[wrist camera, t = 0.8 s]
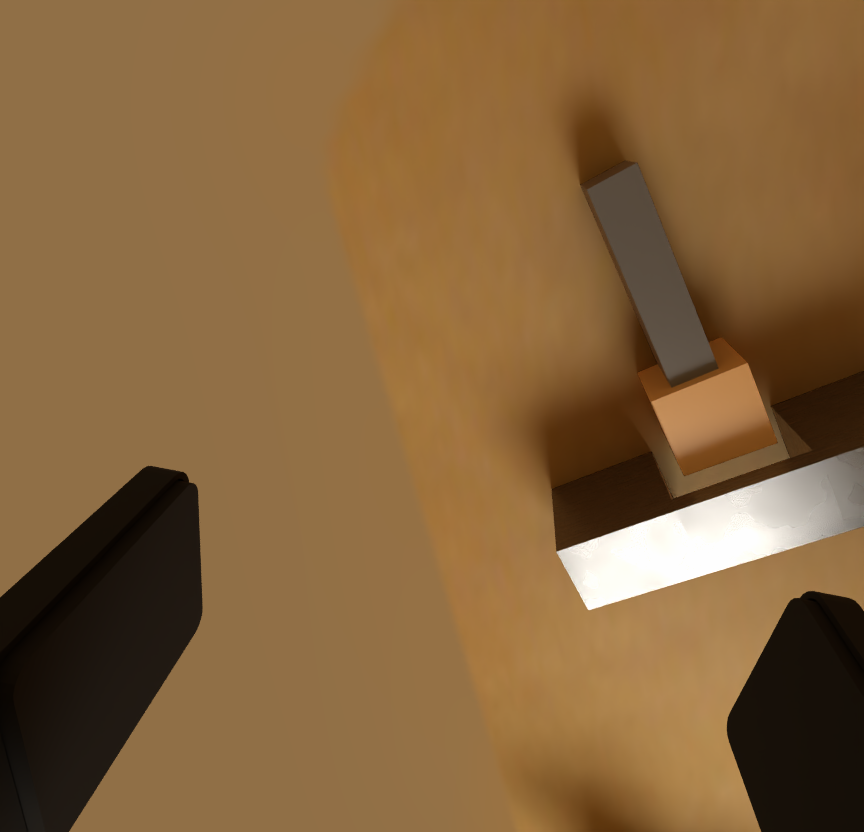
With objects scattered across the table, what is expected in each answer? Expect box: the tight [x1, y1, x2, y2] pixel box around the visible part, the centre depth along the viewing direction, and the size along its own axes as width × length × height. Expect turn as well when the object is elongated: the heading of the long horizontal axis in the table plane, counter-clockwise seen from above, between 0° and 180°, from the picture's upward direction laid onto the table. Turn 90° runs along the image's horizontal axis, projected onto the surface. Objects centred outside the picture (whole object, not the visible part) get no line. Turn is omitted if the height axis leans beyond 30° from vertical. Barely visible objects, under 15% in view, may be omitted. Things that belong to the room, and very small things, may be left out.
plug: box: [581, 161, 778, 476], centre depth 28 cm, size 14×4×4 cm, turn 29°
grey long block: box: [552, 371, 864, 610], centre depth 30 cm, size 4×18×6 cm, turn 119°
